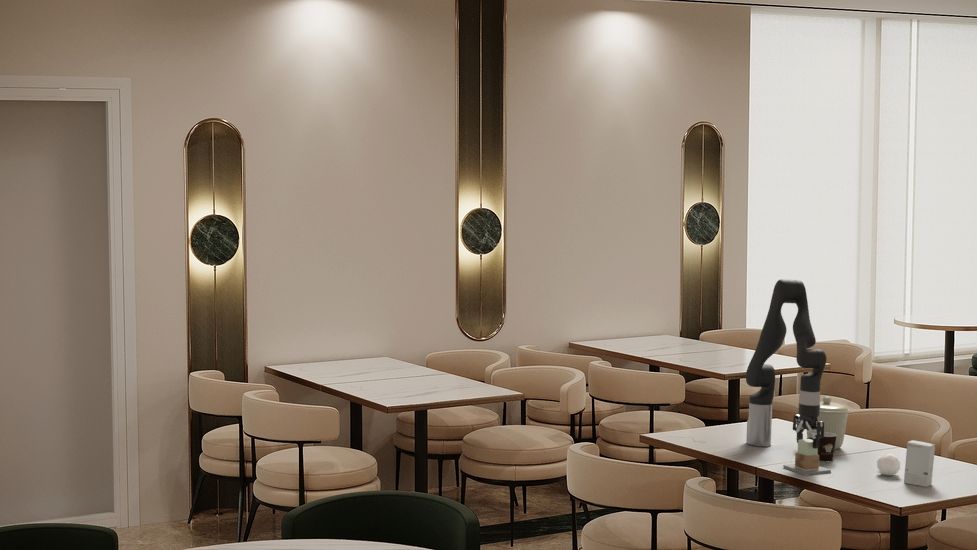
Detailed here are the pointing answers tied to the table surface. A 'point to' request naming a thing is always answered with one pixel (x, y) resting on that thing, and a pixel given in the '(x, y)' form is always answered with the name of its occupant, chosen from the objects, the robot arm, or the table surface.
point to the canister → (833, 419)
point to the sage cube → (806, 447)
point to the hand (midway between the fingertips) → (807, 445)
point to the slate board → (807, 472)
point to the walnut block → (807, 461)
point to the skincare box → (919, 463)
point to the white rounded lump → (888, 464)
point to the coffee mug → (826, 446)
